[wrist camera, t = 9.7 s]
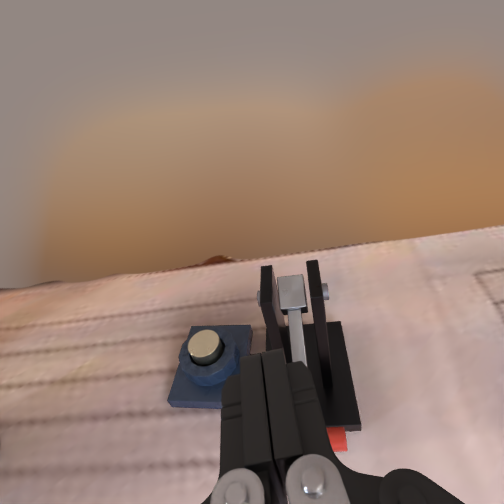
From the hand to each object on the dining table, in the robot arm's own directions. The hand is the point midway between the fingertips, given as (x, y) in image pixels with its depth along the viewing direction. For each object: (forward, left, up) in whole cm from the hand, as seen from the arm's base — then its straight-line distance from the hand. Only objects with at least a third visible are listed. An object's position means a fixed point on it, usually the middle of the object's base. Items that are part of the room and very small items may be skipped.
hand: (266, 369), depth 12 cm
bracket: (-1, +14, -24) cm, 28 cm away
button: (-12, +15, -21) cm, 28 cm away
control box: (-12, +15, -24) cm, 31 cm away
